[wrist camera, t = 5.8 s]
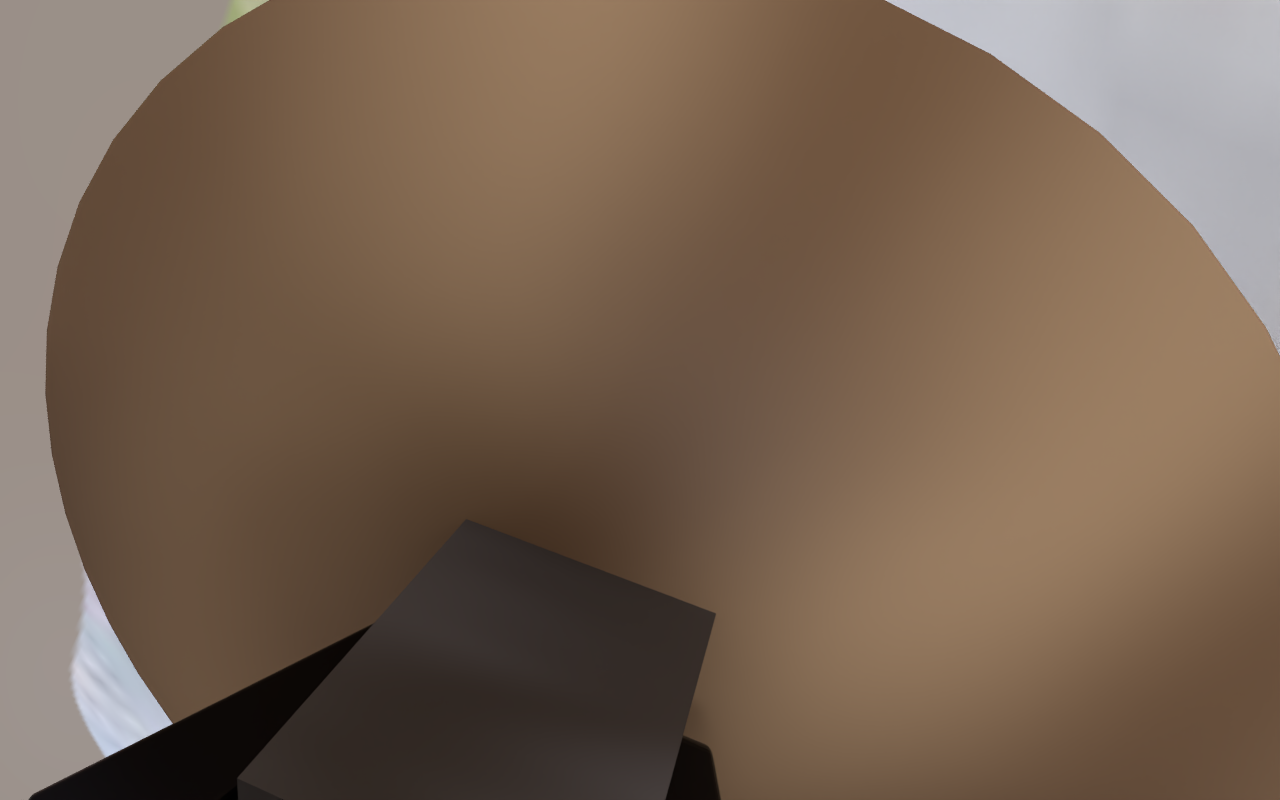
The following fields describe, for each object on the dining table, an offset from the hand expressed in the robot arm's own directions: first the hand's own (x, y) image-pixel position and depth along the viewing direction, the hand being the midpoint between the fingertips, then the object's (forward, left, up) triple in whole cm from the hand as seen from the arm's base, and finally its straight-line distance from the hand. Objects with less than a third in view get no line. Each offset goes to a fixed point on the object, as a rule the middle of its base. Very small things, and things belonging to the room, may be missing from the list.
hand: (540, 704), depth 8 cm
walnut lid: (0, 0, -2) cm, 2 cm away
